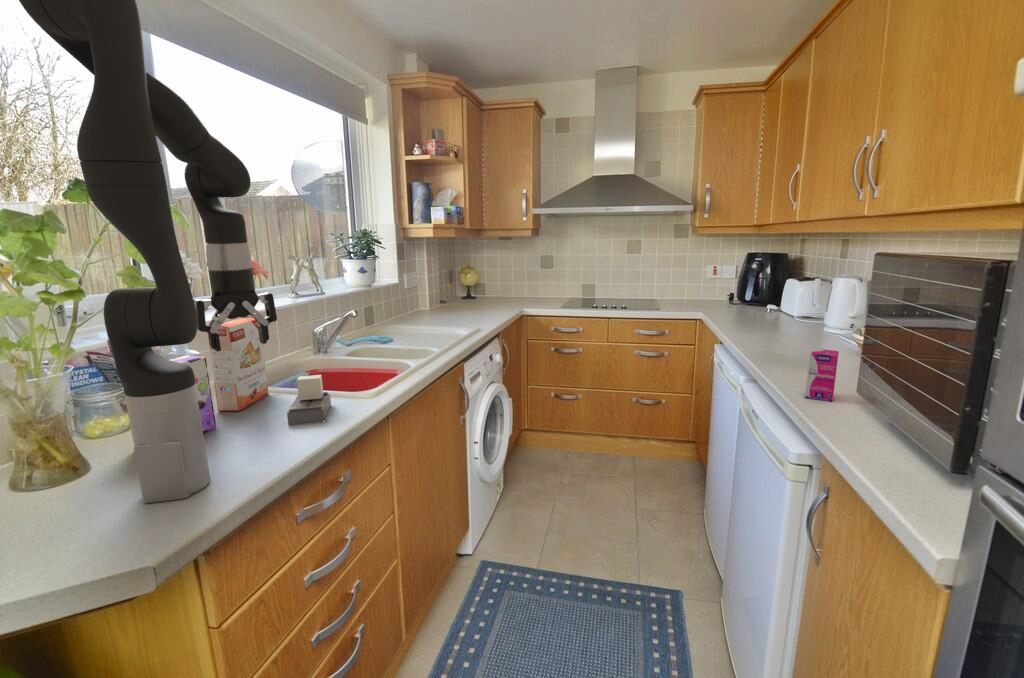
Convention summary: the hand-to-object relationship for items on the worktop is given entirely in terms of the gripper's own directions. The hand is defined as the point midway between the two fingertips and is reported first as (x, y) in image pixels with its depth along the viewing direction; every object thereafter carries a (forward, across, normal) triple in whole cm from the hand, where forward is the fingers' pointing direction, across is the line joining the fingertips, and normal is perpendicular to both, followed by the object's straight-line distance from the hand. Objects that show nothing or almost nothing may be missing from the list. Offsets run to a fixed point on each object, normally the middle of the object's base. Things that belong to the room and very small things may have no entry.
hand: (241, 346), depth 99 cm
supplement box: (+16, +103, -81) cm, 132 cm away
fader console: (+20, +13, +2) cm, 24 cm away
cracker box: (+21, +6, +24) cm, 32 cm away
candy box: (+20, -12, +9) cm, 25 cm away
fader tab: (+16, +15, +4) cm, 22 cm away
